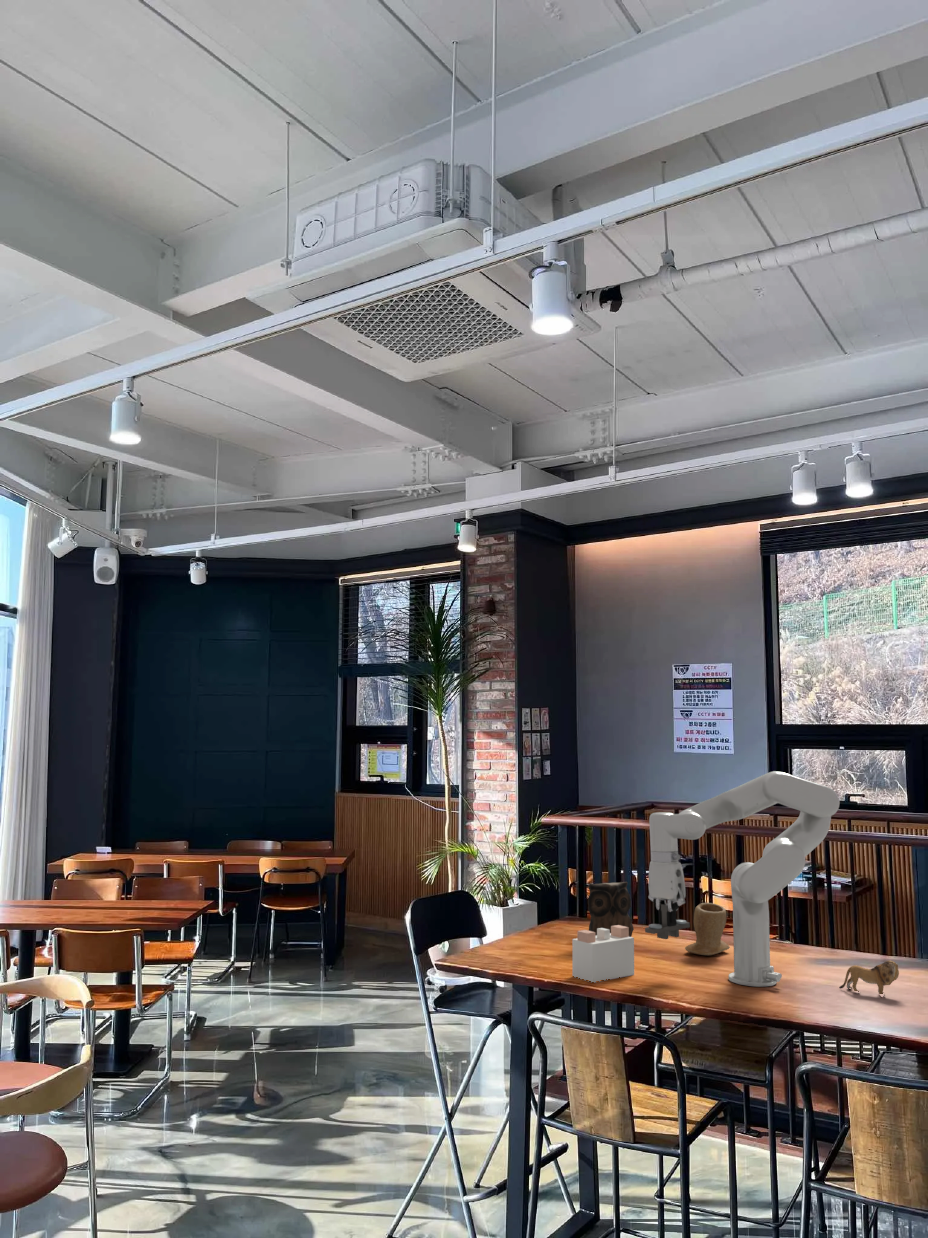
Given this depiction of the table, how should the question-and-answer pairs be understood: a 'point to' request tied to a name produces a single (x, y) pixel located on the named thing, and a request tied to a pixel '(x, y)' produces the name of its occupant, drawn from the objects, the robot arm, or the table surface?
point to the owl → (609, 906)
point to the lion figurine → (873, 975)
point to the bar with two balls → (665, 930)
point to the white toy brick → (603, 954)
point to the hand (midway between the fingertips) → (667, 924)
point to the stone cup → (708, 929)
